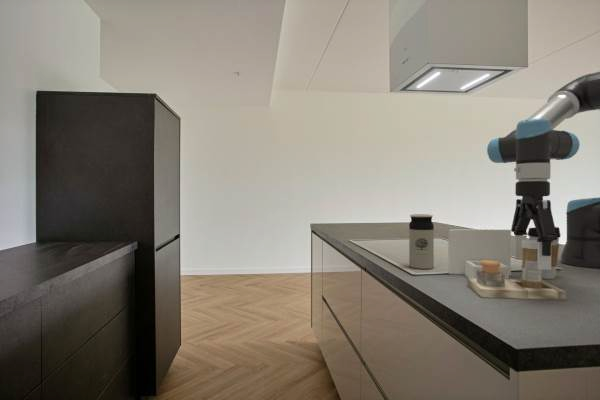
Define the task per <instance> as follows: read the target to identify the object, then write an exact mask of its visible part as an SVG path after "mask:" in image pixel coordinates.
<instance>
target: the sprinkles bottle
mask: <svg viewBox="0 0 600 400" xmlns="http://www.w3.org/2000/svg"><path fill="white" fill-rule="evenodd" d="M522 249H523V260H522V262H521V263H522V264H521V280H522V287H523V288H541V282H542V280H543V278H542V269H537V255H538V242H537V240H529V239H527V240H523V241H522Z"/></svg>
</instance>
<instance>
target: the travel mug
mask: <svg viewBox="0 0 600 400" xmlns="http://www.w3.org/2000/svg"><path fill="white" fill-rule="evenodd" d="M409 216H410V223H409V224H408V227H409V228H408V229H409V233H408V234H409V235H408V237H409V238H408V239H409V241H408V247H409V249H408V251H409V257H408V260H409V261H408V265H409V267H410V268H413V269H416V270H417V269H418V270H430V269H433V268H434V267H435V266H434V263H435V262H434V260H435V259H434V257H435V255H434V253H435V251H434V250H435V249H434V245H435V244H434V241H435V239H434V235H435V234H434V228H435V227H434V223H433V221H432V220H433V216H434V215H433V214H428V213H427V214H424V213H423V214H422V213H421V214H416V213H414V214H410V215H409Z"/></svg>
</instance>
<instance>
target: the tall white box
mask: <svg viewBox="0 0 600 400" xmlns="http://www.w3.org/2000/svg"><path fill="white" fill-rule="evenodd" d="M447 245H448V251H447V252H448V272H447V273H448V274H449V275H464V276H465V277H466V278H467V279H468V278H476V279H477V270H482V265H481V261H482V260H493V261H499V262H500V267H499V272H501V273H503V274H504V275H505V279H510V276H512V231H511V229H492V228H491V229H487V228H486V229H483V228H479V229H476V228H475V229H472V228H471V229H470V228H468V229H467V228H466V229H465V228H464V229H463V228H460V229H459V228H458V229H457V228H456V229H454V228H453V229H452V228H449V229H448V244H447Z"/></svg>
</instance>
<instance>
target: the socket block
mask: <svg viewBox="0 0 600 400" xmlns="http://www.w3.org/2000/svg"><path fill="white" fill-rule="evenodd" d="M467 286H468V287H469V288H470V289H471V290H472V291H473V292H475V293H476V295H478V296H479V297H480V298H486V299H487V298H491V299H517V300H518V299H522V300H523V299H525V300H551V301H554V300H556V301H558V300H559V301H566V297H567V296H566V295H567V294H566V291H565V290H563V289H561V288H559V287H557V286H555V285H553V284H550V283H549V282H546V281H544V280H543V279H542V282H541V288H523V287H522V279H517V278H516V279H515V278H514V279H513V278H509V279H505V275H504V274H503V273H501V272H499V274H485V273H483V272H482V270H477V279H476V278H468V277H467Z"/></svg>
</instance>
